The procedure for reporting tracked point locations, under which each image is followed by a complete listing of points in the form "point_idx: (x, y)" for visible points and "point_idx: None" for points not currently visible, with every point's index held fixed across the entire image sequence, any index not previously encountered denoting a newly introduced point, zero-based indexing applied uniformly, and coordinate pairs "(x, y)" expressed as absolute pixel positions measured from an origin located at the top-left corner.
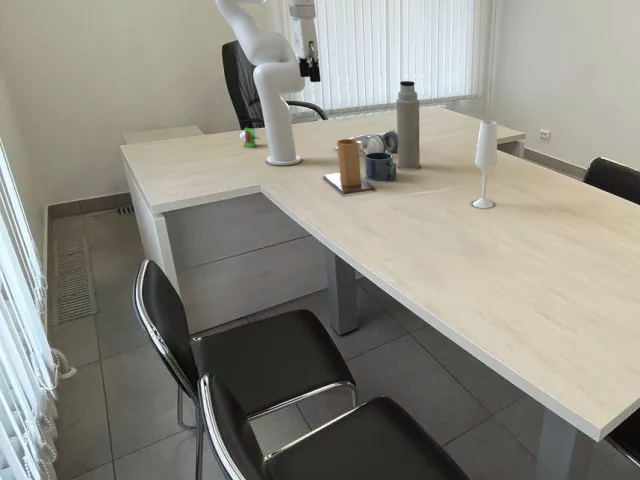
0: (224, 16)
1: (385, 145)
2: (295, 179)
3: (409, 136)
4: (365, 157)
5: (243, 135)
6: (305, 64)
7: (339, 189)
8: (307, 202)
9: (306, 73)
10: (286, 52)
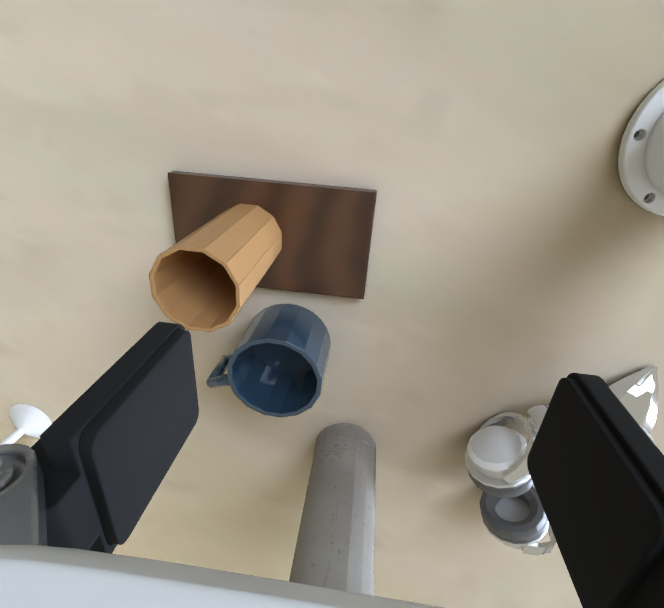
0: None
1: (469, 475)
2: (427, 82)
3: (303, 514)
4: (277, 340)
5: None
6: (604, 567)
7: (209, 175)
8: (148, 13)
9: (554, 456)
10: None
